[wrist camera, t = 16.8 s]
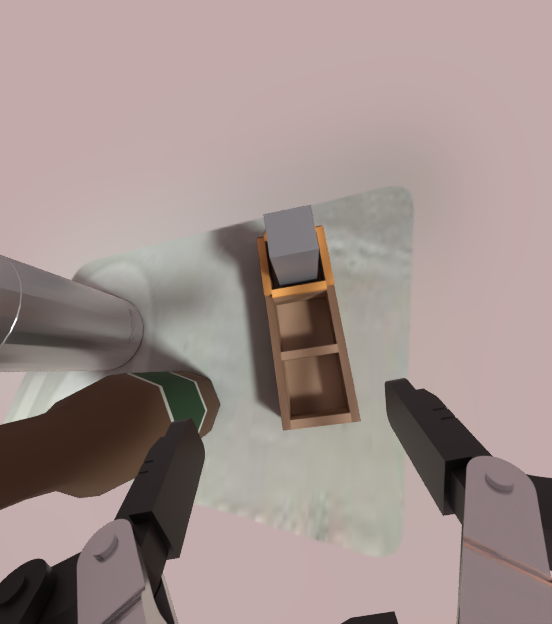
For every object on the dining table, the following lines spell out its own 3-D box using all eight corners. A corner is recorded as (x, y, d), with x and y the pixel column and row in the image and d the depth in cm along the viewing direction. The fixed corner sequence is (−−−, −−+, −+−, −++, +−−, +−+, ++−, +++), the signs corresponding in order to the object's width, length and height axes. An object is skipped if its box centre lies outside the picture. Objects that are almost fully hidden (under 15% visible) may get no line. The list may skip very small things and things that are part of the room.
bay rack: (286, 421, 28) (282, 431, 24) (263, 248, 33) (255, 230, 28) (353, 413, 27) (361, 422, 23) (319, 238, 32) (321, 217, 28)
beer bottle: (159, 372, 31) (-289, 392, 8) (221, 368, 30) (-76, 376, 7) (157, 442, 29) (-422, 731, 6) (223, 440, 29) (-162, 767, 5)
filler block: (282, 291, 30) (269, 257, 21) (277, 259, 31) (263, 214, 22) (316, 285, 30) (319, 248, 21) (310, 253, 31) (310, 204, 21)
